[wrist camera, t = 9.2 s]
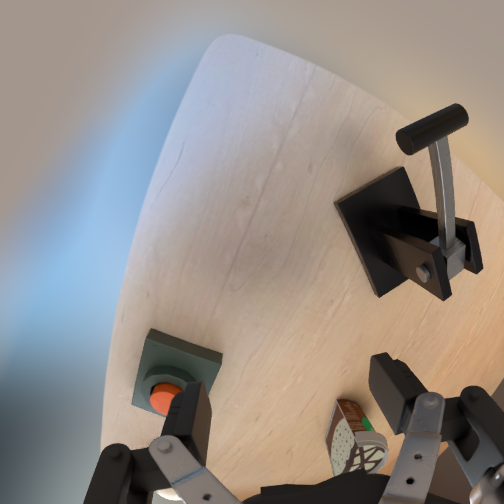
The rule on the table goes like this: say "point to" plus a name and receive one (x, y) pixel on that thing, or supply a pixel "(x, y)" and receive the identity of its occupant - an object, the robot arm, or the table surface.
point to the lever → (440, 175)
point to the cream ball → (169, 494)
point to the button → (163, 396)
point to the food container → (354, 440)
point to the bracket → (401, 236)
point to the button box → (172, 366)
